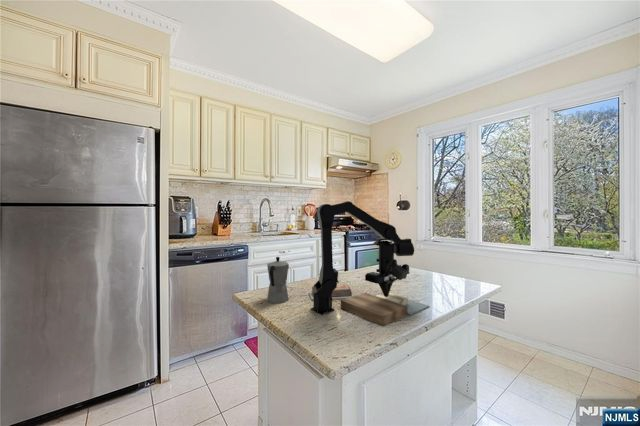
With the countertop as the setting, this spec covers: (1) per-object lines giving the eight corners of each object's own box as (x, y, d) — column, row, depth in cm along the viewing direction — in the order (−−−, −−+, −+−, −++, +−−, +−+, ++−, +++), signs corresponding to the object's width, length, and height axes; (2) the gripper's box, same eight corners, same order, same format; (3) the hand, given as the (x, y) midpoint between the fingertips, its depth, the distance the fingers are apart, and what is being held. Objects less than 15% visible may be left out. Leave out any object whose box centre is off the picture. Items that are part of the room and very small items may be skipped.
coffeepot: (272, 294, 117) (272, 254, 117) (292, 295, 116) (292, 254, 115) (259, 306, 102) (259, 260, 102) (282, 308, 100) (282, 261, 100)
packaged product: (347, 282, 121) (353, 288, 111) (347, 292, 121) (353, 300, 111) (308, 283, 118) (311, 290, 108) (308, 294, 118) (311, 302, 108)
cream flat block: (396, 309, 98) (396, 302, 98) (374, 301, 105) (374, 295, 105) (407, 304, 103) (407, 297, 103) (386, 297, 111) (386, 291, 111)
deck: (383, 325, 85) (383, 316, 85) (340, 307, 101) (340, 300, 100) (407, 314, 94) (407, 306, 94) (365, 299, 109) (365, 292, 109)
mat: (410, 315, 93) (410, 314, 93) (363, 299, 110) (363, 298, 110) (429, 307, 101) (429, 305, 101) (383, 293, 118) (383, 291, 118)
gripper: (388, 262, 90) (388, 308, 90) (418, 256, 101) (418, 296, 102) (364, 258, 98) (364, 299, 99) (394, 253, 110) (393, 290, 110)
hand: (386, 296), depth 102 cm, fingers closed
